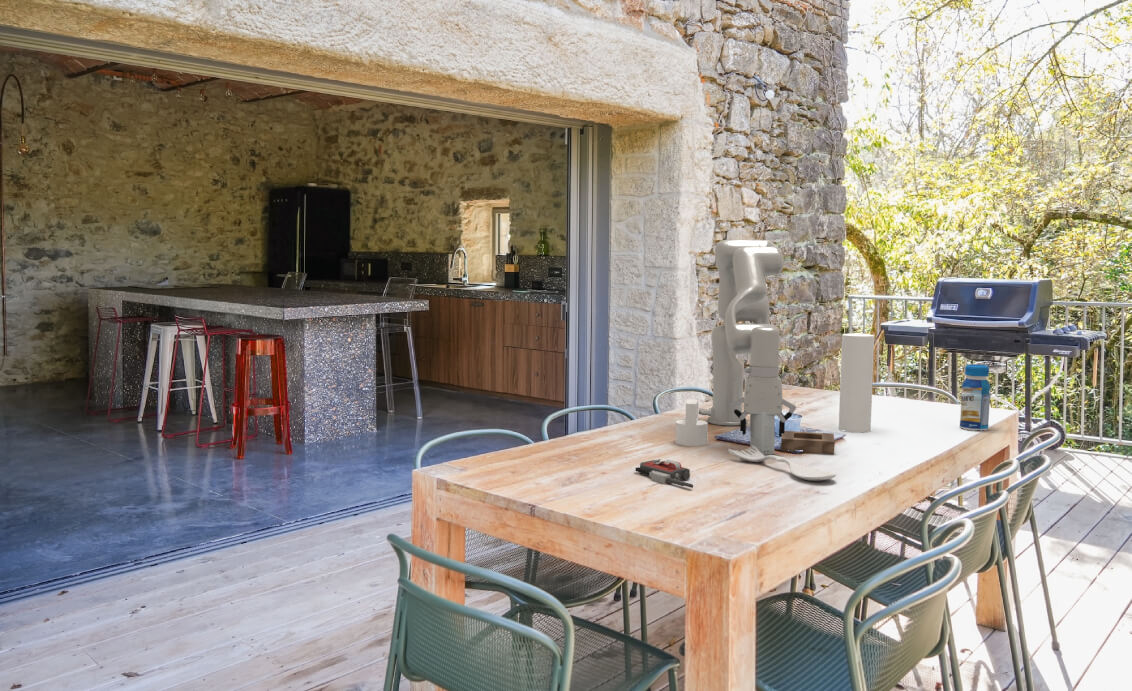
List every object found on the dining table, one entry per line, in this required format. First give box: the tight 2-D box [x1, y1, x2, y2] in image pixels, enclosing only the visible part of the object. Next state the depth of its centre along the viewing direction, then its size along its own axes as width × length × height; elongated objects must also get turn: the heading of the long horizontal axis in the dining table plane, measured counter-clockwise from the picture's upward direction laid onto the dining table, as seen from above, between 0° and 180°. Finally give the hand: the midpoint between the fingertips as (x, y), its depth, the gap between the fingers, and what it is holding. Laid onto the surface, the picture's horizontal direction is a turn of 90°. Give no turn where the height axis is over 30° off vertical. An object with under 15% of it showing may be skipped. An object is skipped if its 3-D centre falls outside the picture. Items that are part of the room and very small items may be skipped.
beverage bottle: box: [959, 364, 992, 432], centre depth 276 cm, size 8×8×20 cm
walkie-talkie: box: [634, 458, 694, 489], centre depth 210 cm, size 9×4×20 cm
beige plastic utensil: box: [727, 446, 837, 482], centre depth 220 cm, size 9×32×4 cm, turn 30°
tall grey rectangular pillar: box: [838, 332, 875, 433], centre depth 272 cm, size 9×9×30 cm
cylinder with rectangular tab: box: [674, 398, 709, 447], centre depth 252 cm, size 9×9×12 cm
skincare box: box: [749, 410, 776, 456], centre depth 240 cm, size 6×4×12 cm
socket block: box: [780, 430, 836, 456], centre depth 245 cm, size 14×12×4 cm
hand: (762, 434), depth 240 cm, fingers open, 9 cm apart
